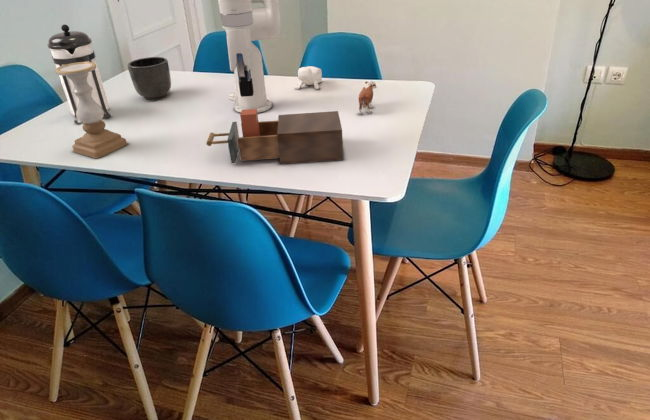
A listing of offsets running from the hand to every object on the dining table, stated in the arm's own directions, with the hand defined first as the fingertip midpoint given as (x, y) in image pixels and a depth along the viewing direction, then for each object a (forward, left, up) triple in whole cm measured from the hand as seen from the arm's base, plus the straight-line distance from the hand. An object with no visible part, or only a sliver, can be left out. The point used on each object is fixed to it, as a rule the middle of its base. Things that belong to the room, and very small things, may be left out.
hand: (247, 94), depth 127 cm
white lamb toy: (-9, +58, -17) cm, 62 cm away
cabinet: (+14, +6, -17) cm, 23 cm away
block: (0, 0, -15) cm, 15 cm away
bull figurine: (+19, +41, -17) cm, 49 cm away
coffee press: (-71, +12, -17) cm, 74 cm away
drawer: (-1, -1, -16) cm, 16 cm away
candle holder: (-47, -9, -17) cm, 51 cm away
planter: (-61, +34, -17) cm, 72 cm away
